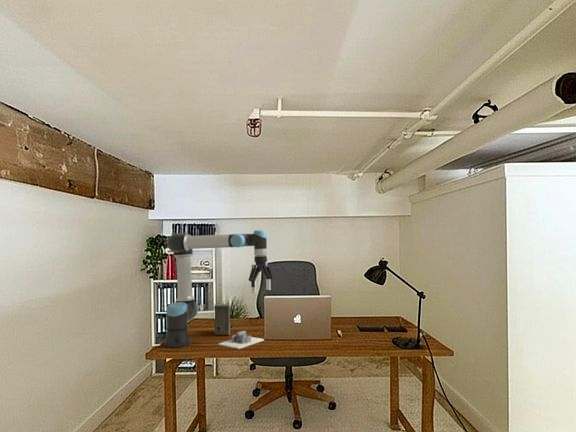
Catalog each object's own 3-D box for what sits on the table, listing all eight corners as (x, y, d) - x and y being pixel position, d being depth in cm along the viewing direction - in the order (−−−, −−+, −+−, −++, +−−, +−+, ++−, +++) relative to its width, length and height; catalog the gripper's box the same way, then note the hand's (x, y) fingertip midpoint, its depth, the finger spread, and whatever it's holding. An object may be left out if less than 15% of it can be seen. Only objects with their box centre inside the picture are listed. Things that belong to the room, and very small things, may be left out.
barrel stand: (239, 348, 239) (238, 342, 239) (218, 345, 248) (218, 338, 248) (263, 340, 257) (263, 333, 257) (243, 337, 266) (243, 330, 266)
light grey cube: (242, 343, 248) (241, 333, 248) (233, 341, 252) (233, 332, 252) (249, 340, 253) (249, 331, 253) (241, 339, 257) (241, 330, 257)
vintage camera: (235, 331, 285) (234, 300, 287) (229, 335, 270) (228, 303, 271) (220, 331, 286) (219, 301, 288) (214, 336, 271) (213, 303, 272)
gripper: (251, 257, 248) (252, 294, 247) (278, 254, 269) (278, 289, 268) (242, 256, 253) (242, 293, 252) (268, 254, 273) (269, 288, 272)
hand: (261, 291), depth 260 cm, fingers open, 13 cm apart
